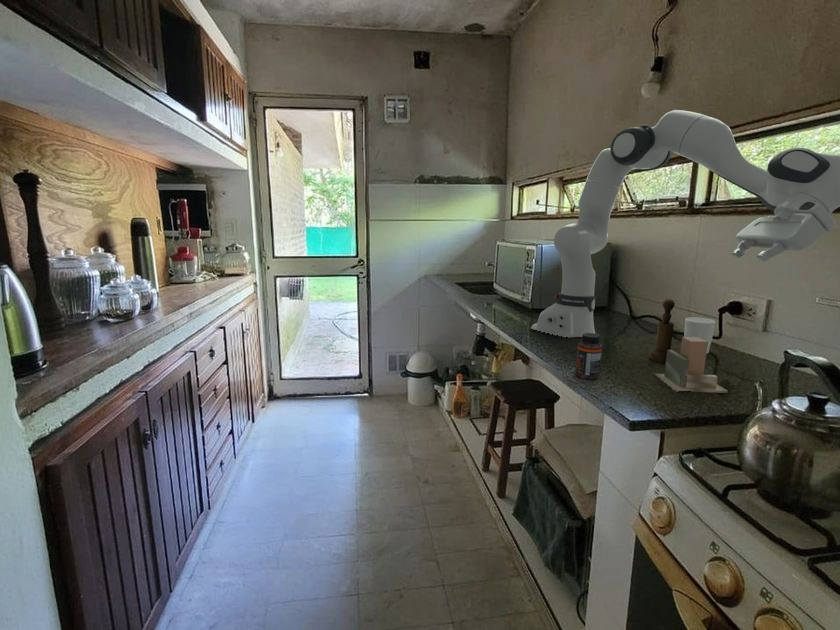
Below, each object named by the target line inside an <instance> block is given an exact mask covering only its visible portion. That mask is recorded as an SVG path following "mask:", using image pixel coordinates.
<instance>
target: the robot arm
mask: <svg viewBox="0 0 840 630" xmlns="http://www.w3.org/2000/svg"><path fill="white" fill-rule="evenodd" d="M672 153H674V154H677V155H680V156H681V157H683V158H684V157H685V158H687V159H688V160H691V161H693V162H695V163H696V164H699V165H700V166H703V167H704V168H706V169H708V170H710V172H712V173H714V174H715V175H717V176H719V177H720V178H722V179H723V180H725V181H726V182H729V183H731V184H733V185H734V186H736V187H738V188H740V189H742V190H744V191H746V192H747V193H749V194H751V195H753V196H755V197H756V198H757V199H759V200H760V201H761V203H763V205H764V206H765V207H766V209H768V210H770V212H771V211H772V212H773V214H774V215H768V216H762V217H758V218H757V219H755V220H753V221H752V222H751V223H749V224H747V226H746V227H744V228H743V229H741V230H740V231H739V232H738V233H736V236H735V239H736V240H737V241H738V244H737V247H736V248H735V249H734V250H733V251H732V252H731V255H732V257H733V258H736V259H741V257H743V256H744V255H745V254H746V253H745V252H746V251H747V250H748V249H750V248H759V249H760V248H761V249H766V250H762V251H761V252H759V253H758V254H757V255H756V258H757V259H758V260H759V261H760V262H767V261H768V260H770V259H771V258H773V257H775V256H777V255H779V254H782V253H784V252H785V251H794V252H798V251H802V250H804V249H806V248H808V247H809V246H811V245H812V244H814V243H815V242H816V241H818V240H819V239H820V238H821V237H823V236H824V235H825V233H826V232H829V231H831V230H833V229H834V228H835V227H837V223H836V221H835V220H834V218H833V217H832V216H831V215H832V214H833V212H834V211H835V210H836V209H838V208H840V153H839V154H831V153H830V154H828V153H822V152H821V153H820V152H817V151H816V152H815V151H813V150H811V149H810V148H805V147H792V148H789V149H785V150H782V151H780V152H778V153H777V154H775V155H774V156H772V158H771V159H770V160H769V162H768V164H767V169H764V168H762V167H760V166H759V165H756V164H754V163H752V162H750V161H748V159H746V157H744V155H743V154H742V153H741V152H740V149H739V148H738V146H737V143H736V140H735V137H734V134H733V132H732V130H731V128H730V127H729V125H727V124H726V123H724V122H723V121H721V120H720V119H718V118H715V117H711V116H708V115H706V114H702V113H698V112H695V111H688V110H682V109H673V110H671V111H669V112H666V113H665V114H664V115H663V116H661V117H660V118H659V120H658V122H657V123H656V124H655V126H652V127H651V126H650V125H649V124H644V125H639V126H635V127H629V128H625V129H622V130H621V131H619V132H618V133H617V134H616V135H615V136H614V138H613V140H611V144H610V147H609V148H605V149H603V150H601V151H600V152H599V153H598V155H597V156H596V158H595V159H594V160H595V161H594V162H593V164H592V166H591V168H590V170H589V172H588V175H587V177H586V180H585V182H584V185H583V189H582V191H581V193H580V197H579V199H578V208H579V211H578V212H579V213H578V219H577V220H578V221H577V223H570V224H566V225H564V226H563V227H561V228H559V229H558V230H557V231H556V233H555V234H554V239H553V245H554V248H555V250H556V251H557V252H558V254H559V259H560V264H561V271H562V277H561V278H562V279H561V292H559V293H558V294H556V295H555V296H554V300H555V302H554V303H553V304H551V305H550V306H548V307H547V308H545V309H544V310H542V311H541V312H540V314H539V316H538V320H537V322H536V323H533V324H532V325H531V327H530V330H531V329H533V330H537V331H536V332H538V331H541V332H540V333H543V332H545V333H544V334H547V333H549V335H552V334H553V336H557V335H558V336H557V337H561V336H562V338H566V337H568V339H569V338H582V336H583V334H584V333H594V334H596V331H595V329H596V328H595V325H594V323H595V322H594V310H595V304H596V295H595V286H596V276H597V273H596V271H595V269H594V268H593V262H592V255H593V254H597V253H598V252H600V251H602V250H603V249H604V248H605V247H606V246H607V244H608V241H609V235H608V229H609V224H610V218H611V213H612V210H613V208H614V205H615V202H616V200H617V198H618V195H619V192H620V190H621V188H622V185H623V182H624V180H625V177H626V176H627V174H629V172H632V171H635V172H643V171H654V170H657V169H659V168H662V167H663V166H665V165H666V164H667V163H668V162H669V160H670V159H671V157H672ZM533 330H532V331H533Z"/></svg>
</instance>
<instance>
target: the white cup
mask: <svg viewBox="0 0 840 630" xmlns="http://www.w3.org/2000/svg"><path fill="white" fill-rule="evenodd" d="M715 325H716V321H715V320H714V319H710V318H703V317H695V316H694V317H691V316H690V317H686V318H685V321H684V329H683V331H684V333H683V335H684V336H683V337H699V338H701V339H703V340H706V341H708V346H707V353H706V355H708V354H709V352H710V347H711V344H712V341H713V337H714V332H715Z"/></svg>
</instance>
